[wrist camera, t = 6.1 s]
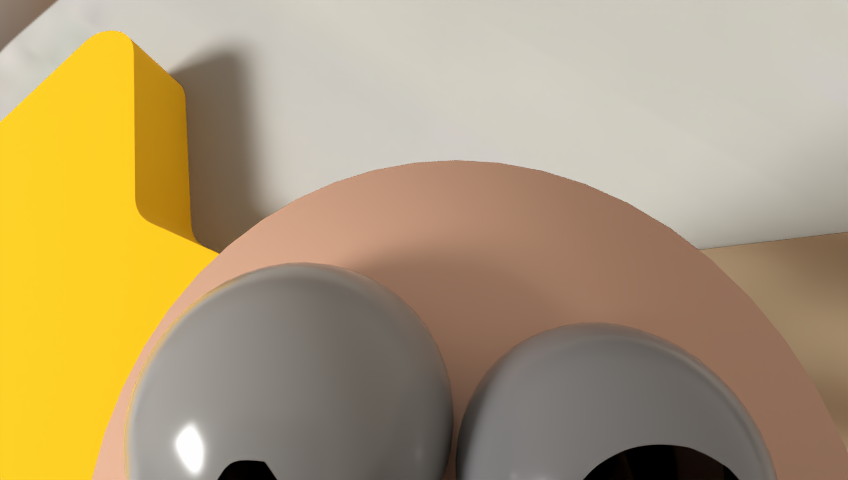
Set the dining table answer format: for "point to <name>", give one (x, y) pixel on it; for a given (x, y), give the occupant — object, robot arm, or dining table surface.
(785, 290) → the board
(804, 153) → the dining table surface
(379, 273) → the peach cylinder with balls
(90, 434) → the star
